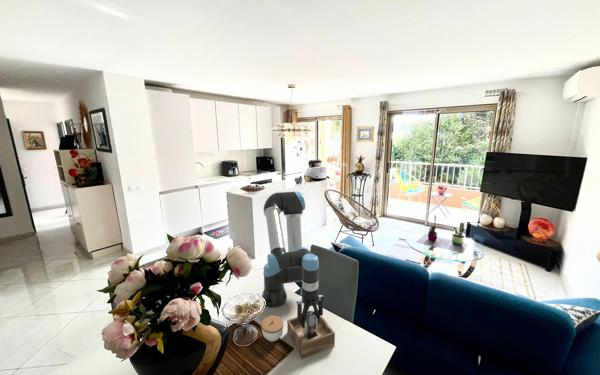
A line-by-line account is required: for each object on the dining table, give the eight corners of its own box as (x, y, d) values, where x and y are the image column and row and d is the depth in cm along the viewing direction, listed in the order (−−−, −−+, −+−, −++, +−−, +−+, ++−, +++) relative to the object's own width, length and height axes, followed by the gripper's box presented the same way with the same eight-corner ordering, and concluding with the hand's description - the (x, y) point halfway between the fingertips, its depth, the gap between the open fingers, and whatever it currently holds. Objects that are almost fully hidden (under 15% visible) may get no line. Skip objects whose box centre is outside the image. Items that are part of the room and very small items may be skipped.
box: (287, 332, 125) (287, 320, 124) (317, 321, 132) (317, 310, 131) (301, 359, 110) (301, 345, 109) (334, 345, 117) (334, 333, 116)
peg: (304, 337, 122) (305, 312, 119) (312, 334, 124) (312, 309, 121) (308, 343, 119) (309, 317, 116) (315, 340, 120) (316, 315, 117)
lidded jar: (280, 347, 116) (280, 330, 114) (258, 343, 119) (257, 326, 117) (286, 330, 127) (285, 314, 125) (266, 327, 129) (265, 311, 127)
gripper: (295, 297, 108) (296, 342, 113) (331, 286, 116) (330, 329, 121) (289, 288, 115) (289, 331, 120) (323, 278, 122) (322, 319, 127)
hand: (310, 330), depth 120 cm, fingers open, 5 cm apart
